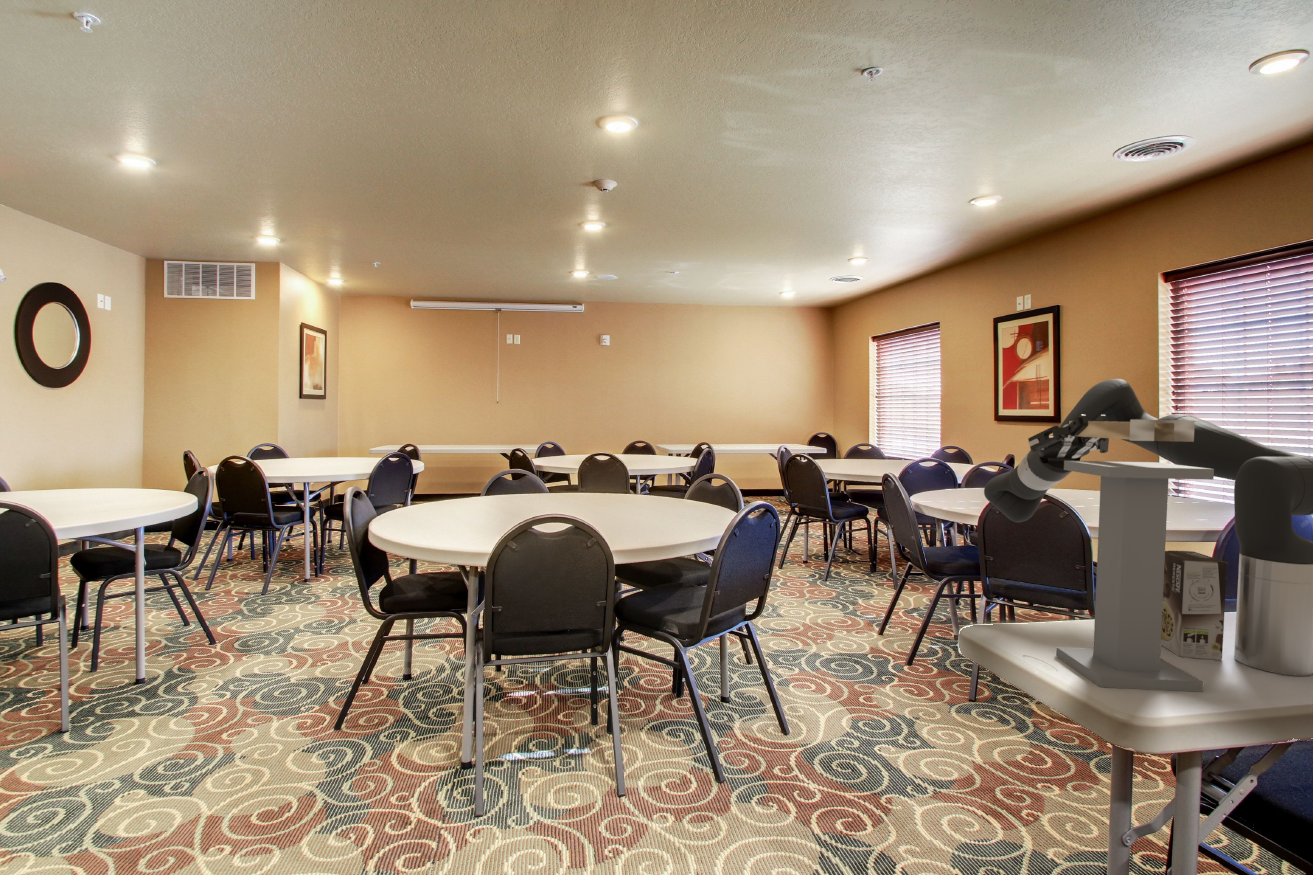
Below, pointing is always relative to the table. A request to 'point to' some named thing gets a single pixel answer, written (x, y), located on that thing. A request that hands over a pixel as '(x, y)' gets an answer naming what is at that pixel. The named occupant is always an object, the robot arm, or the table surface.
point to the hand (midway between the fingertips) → (1094, 419)
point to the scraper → (1142, 430)
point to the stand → (1131, 577)
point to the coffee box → (1193, 604)
